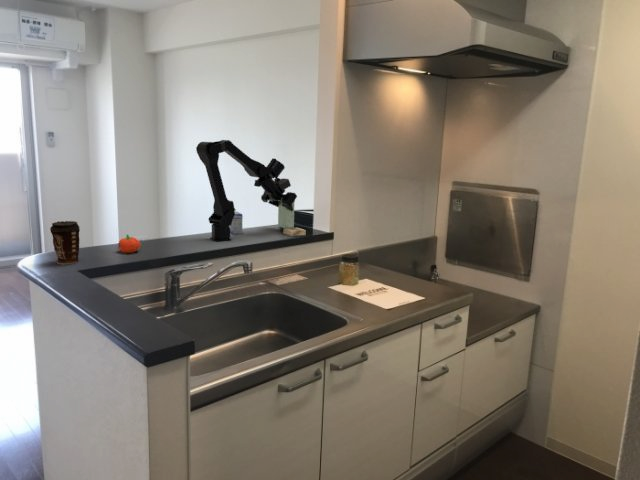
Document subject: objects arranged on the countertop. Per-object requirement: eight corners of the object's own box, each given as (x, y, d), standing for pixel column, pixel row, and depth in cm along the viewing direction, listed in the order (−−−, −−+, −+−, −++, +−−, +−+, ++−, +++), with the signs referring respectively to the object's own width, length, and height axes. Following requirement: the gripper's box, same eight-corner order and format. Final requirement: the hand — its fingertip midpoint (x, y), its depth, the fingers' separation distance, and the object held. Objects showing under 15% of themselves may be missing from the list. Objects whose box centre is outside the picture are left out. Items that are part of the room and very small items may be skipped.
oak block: (291, 237, 222) (291, 231, 221) (283, 234, 228) (283, 228, 227) (305, 235, 226) (305, 230, 225) (297, 233, 231) (297, 227, 231)
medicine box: (227, 230, 230) (227, 211, 228) (237, 230, 232) (237, 211, 230) (232, 234, 223) (232, 214, 221) (242, 233, 224) (242, 213, 223)
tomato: (126, 256, 181) (123, 239, 179) (115, 252, 186) (112, 235, 184) (145, 251, 185) (142, 234, 184) (134, 247, 191) (131, 230, 189)
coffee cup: (62, 258, 173) (59, 219, 171) (86, 259, 173) (84, 220, 171) (47, 264, 165) (44, 224, 162) (73, 265, 165) (71, 225, 162)
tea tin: (285, 228, 230) (285, 200, 228) (277, 226, 234) (278, 199, 232) (294, 227, 234) (294, 200, 232) (286, 225, 238) (287, 198, 235)
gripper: (294, 174, 220) (312, 198, 230) (266, 170, 233) (285, 194, 243) (279, 193, 216) (298, 217, 226) (252, 189, 229) (271, 212, 239)
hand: (288, 209), depth 233 cm, fingers closed on tea tin, 5 cm apart
